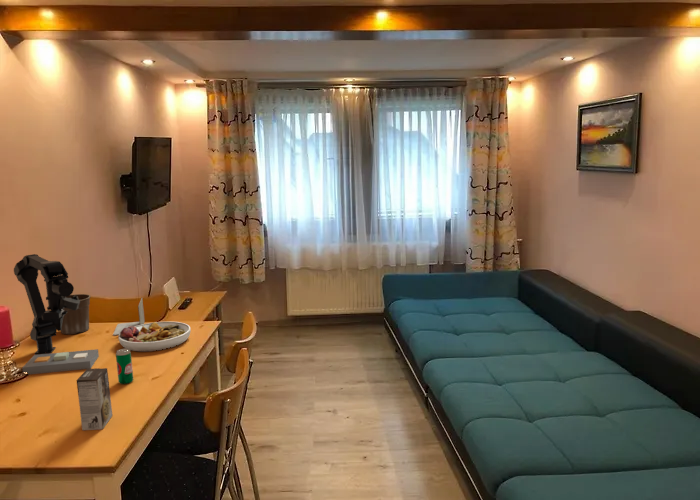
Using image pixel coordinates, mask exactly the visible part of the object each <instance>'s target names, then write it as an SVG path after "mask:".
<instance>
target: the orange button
mask: <svg viewBox="0 0 700 500" xmlns="http://www.w3.org/2000/svg"><path fill="white" fill-rule="evenodd" d="M49 359H50V356H47V357H38V358H37V359H36V360H35V361H34V362H46V361H48V360H49Z"/></svg>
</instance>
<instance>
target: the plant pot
mask: <svg viewBox="0 0 700 500" xmlns="http://www.w3.org/2000/svg"><path fill="white" fill-rule="evenodd" d="M73 296H78V298H79V300H80V304H79V307H78V309H77V310H72V309H68V308H64V309H63V310H64V311H68V312H67V313H66V314H65V315H64V317H63V322H62V328H61V331H60V333H61V334H62V335H75V334H78V333H84V332H87V331H88V330H89V329H90V304H91V303H90V302H91V301H90V299H91V295H90V294H87V293H79V294H71V295H70V296H67V297H66V298H72V297H73Z"/></svg>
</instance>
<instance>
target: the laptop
mask: <svg viewBox="0 0 700 500" xmlns="http://www.w3.org/2000/svg"><path fill="white" fill-rule="evenodd" d="M143 302H144V301H143V297H141V299H140V301H139V303H138V305H137V310H138V321H133V322H122V323H117V325H116V327H115V329H114V331H113V333H112V336H119V334H120V332H121V331H122V330H123V329H124V328H128V327H130V326H138V325H142V324H145V311H144V304H143Z"/></svg>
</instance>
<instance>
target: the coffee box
mask: <svg viewBox="0 0 700 500" xmlns="http://www.w3.org/2000/svg"><path fill="white" fill-rule="evenodd" d="M76 388H77V389H76V390H77V395H78V396H77V397H78V405H79V413H80V414H79V415H80V422H81V423H80V424H81V429H82V430H81V431H93V430H94V431H96V430H104V428H106V425H108V424H107V423H109V421H110V419H112V417H113V408H112V399H111V389H110V382H109V373H108V368H107V367H106V368H104V367H103V368H100V367H99V368H97V367H96V368H95V367H94V368H91V369H85V371H83V373H82V374H81V375H80V376H79V377H78V378H77V379H76Z"/></svg>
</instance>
